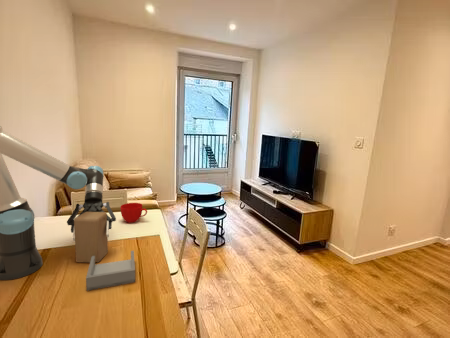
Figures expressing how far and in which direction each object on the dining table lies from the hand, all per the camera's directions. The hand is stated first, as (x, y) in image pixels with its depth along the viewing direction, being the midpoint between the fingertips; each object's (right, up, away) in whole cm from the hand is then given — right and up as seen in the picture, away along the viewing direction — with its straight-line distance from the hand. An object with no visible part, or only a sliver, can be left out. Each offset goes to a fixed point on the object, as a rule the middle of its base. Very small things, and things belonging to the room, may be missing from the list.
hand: (91, 237), depth 109 cm
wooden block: (-1, -10, +4) cm, 11 cm away
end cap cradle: (+13, -12, -9) cm, 20 cm away
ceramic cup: (+1, -3, +49) cm, 49 cm away
